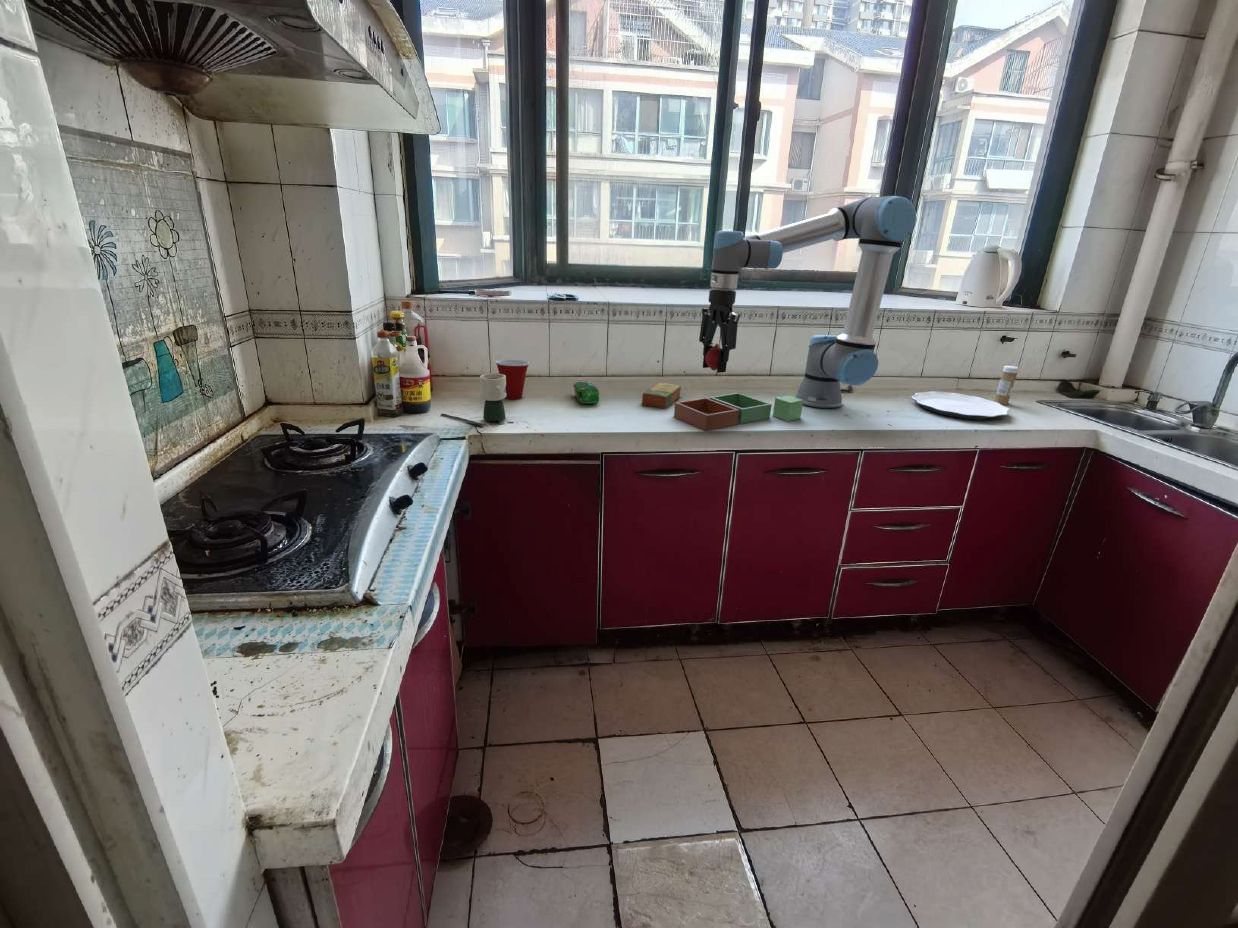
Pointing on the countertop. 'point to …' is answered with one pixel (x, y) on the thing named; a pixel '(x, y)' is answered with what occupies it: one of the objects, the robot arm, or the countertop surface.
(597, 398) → the snack package
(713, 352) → the onion
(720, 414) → the brown bin
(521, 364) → the plastic cup
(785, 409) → the green block
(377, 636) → the countertop surface
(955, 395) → the plate
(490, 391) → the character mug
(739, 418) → the green bin
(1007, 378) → the sprinkles bottle
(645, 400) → the carton
